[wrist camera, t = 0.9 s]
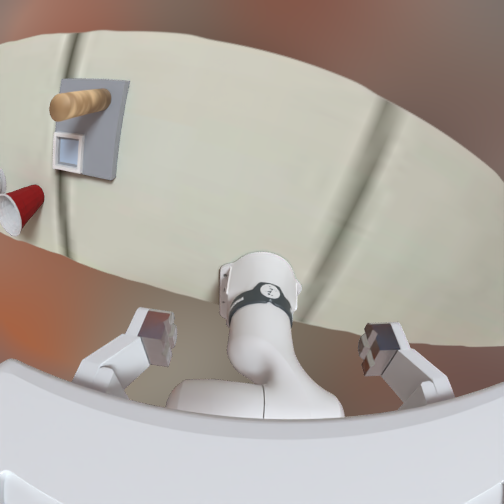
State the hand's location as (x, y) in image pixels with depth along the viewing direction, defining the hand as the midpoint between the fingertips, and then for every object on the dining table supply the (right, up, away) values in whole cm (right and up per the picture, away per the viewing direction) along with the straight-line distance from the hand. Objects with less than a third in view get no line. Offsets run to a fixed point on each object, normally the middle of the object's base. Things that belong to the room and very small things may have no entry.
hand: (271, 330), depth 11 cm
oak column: (-29, +31, +29) cm, 52 cm away
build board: (-34, +29, +34) cm, 56 cm away
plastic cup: (-55, +18, +42) cm, 71 cm away
